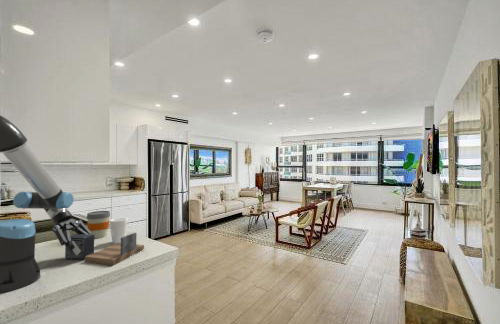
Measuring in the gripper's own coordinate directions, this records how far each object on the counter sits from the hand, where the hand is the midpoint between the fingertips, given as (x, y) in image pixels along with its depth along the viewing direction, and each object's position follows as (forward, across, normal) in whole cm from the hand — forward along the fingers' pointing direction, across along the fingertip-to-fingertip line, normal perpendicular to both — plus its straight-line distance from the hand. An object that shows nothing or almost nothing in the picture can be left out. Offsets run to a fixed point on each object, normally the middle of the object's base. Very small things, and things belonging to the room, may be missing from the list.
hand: (86, 250), depth 113 cm
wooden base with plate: (+11, -6, +6) cm, 14 cm away
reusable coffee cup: (-15, -30, -20) cm, 39 cm away
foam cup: (0, -24, -5) cm, 25 cm away
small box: (0, 0, -5) cm, 5 cm away
